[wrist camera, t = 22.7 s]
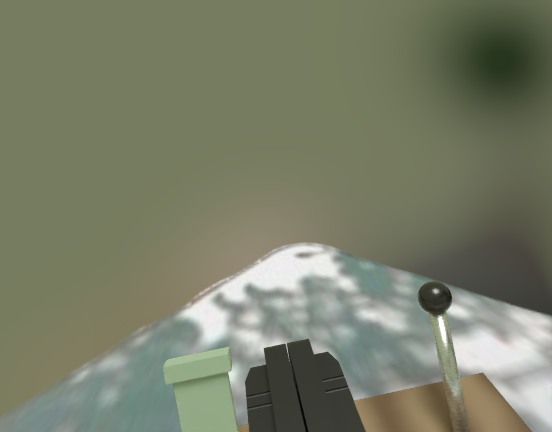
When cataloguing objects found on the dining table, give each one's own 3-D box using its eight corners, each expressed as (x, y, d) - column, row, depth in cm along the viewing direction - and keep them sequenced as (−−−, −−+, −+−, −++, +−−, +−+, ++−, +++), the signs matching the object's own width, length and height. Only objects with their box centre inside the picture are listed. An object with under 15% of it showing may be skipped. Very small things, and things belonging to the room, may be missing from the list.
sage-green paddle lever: (254, 481, 39) (229, 346, 39) (254, 496, 37) (228, 353, 37) (192, 495, 38) (167, 359, 38) (189, 511, 36) (162, 367, 36)
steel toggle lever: (470, 429, 41) (439, 277, 42) (488, 445, 38) (454, 280, 39) (440, 436, 41) (409, 283, 42) (456, 452, 38) (422, 286, 38)
